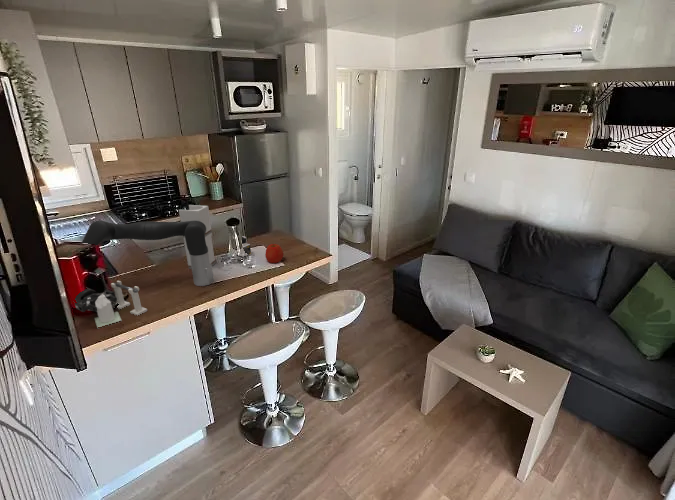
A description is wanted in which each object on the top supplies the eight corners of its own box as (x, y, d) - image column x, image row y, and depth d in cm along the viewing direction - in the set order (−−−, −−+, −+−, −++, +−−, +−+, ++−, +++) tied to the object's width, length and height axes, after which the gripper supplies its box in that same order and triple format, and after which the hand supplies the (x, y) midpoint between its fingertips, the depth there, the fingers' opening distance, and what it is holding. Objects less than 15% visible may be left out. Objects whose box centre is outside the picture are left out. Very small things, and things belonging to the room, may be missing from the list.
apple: (287, 259, 218) (286, 243, 214) (275, 265, 210) (274, 249, 206) (274, 255, 224) (272, 239, 220) (261, 261, 215) (260, 245, 211)
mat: (118, 312, 162) (117, 311, 162) (121, 321, 156) (121, 320, 156) (94, 319, 157) (94, 318, 157) (97, 328, 151) (97, 327, 150)
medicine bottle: (243, 258, 220) (241, 240, 215) (234, 255, 223) (232, 237, 219) (251, 254, 225) (249, 236, 221) (243, 252, 229) (241, 234, 224)
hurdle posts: (113, 307, 167) (107, 283, 162) (123, 302, 171) (117, 279, 166) (137, 316, 160) (131, 291, 155) (147, 310, 164) (142, 287, 159)
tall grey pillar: (216, 262, 214) (208, 205, 200) (207, 270, 204) (198, 211, 191) (198, 261, 215) (189, 204, 202) (188, 268, 206) (178, 210, 192)
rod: (113, 286, 164) (112, 283, 163) (116, 284, 165) (115, 282, 164) (136, 293, 157) (135, 290, 157) (138, 292, 159) (138, 289, 158)
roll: (89, 298, 149) (97, 292, 154) (96, 322, 154) (104, 315, 159) (104, 298, 149) (111, 291, 155) (111, 322, 154) (118, 315, 159)
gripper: (63, 295, 152) (86, 304, 145) (97, 281, 164) (120, 289, 157) (68, 310, 155) (91, 320, 148) (101, 296, 166) (123, 304, 160)
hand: (106, 304), depth 153 cm, fingers open, 8 cm apart
